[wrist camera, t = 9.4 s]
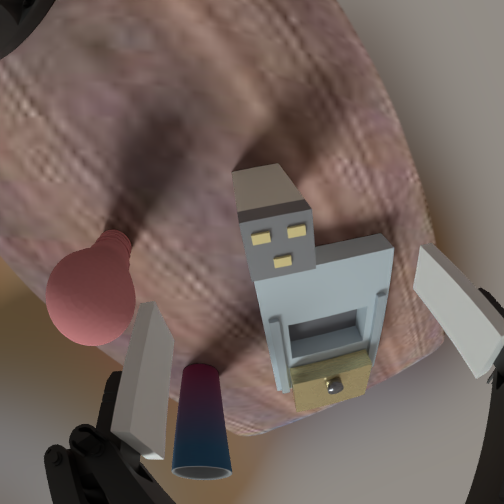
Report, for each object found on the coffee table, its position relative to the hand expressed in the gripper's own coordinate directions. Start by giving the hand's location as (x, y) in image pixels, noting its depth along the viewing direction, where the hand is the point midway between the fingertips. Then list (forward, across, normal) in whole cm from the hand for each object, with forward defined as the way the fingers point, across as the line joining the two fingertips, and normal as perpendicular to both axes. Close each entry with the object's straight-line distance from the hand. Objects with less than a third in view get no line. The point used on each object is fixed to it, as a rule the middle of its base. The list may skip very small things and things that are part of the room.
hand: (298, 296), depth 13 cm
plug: (+14, 0, 0) cm, 14 cm away
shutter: (+11, +5, -25) cm, 28 cm away
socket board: (+14, +5, -16) cm, 22 cm away
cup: (+14, -12, -24) cm, 30 cm away
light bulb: (+14, -14, -2) cm, 20 cm away
